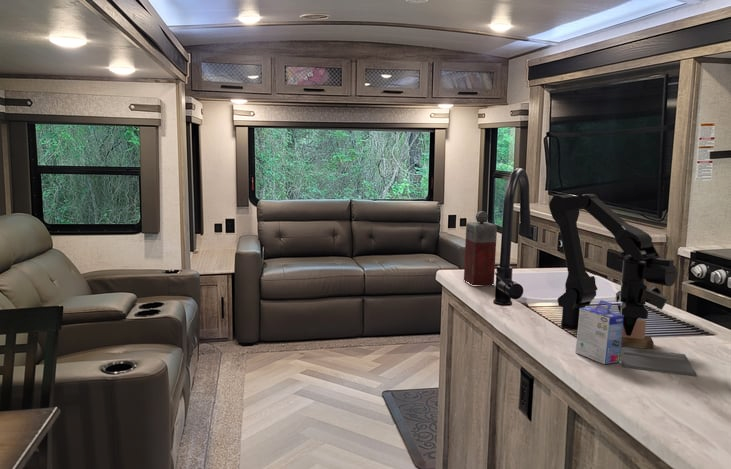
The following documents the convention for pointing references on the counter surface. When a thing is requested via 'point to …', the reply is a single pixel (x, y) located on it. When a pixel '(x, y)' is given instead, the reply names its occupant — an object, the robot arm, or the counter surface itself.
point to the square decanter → (480, 251)
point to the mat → (656, 361)
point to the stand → (638, 342)
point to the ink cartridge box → (599, 333)
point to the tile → (637, 330)
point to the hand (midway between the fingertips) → (628, 334)
